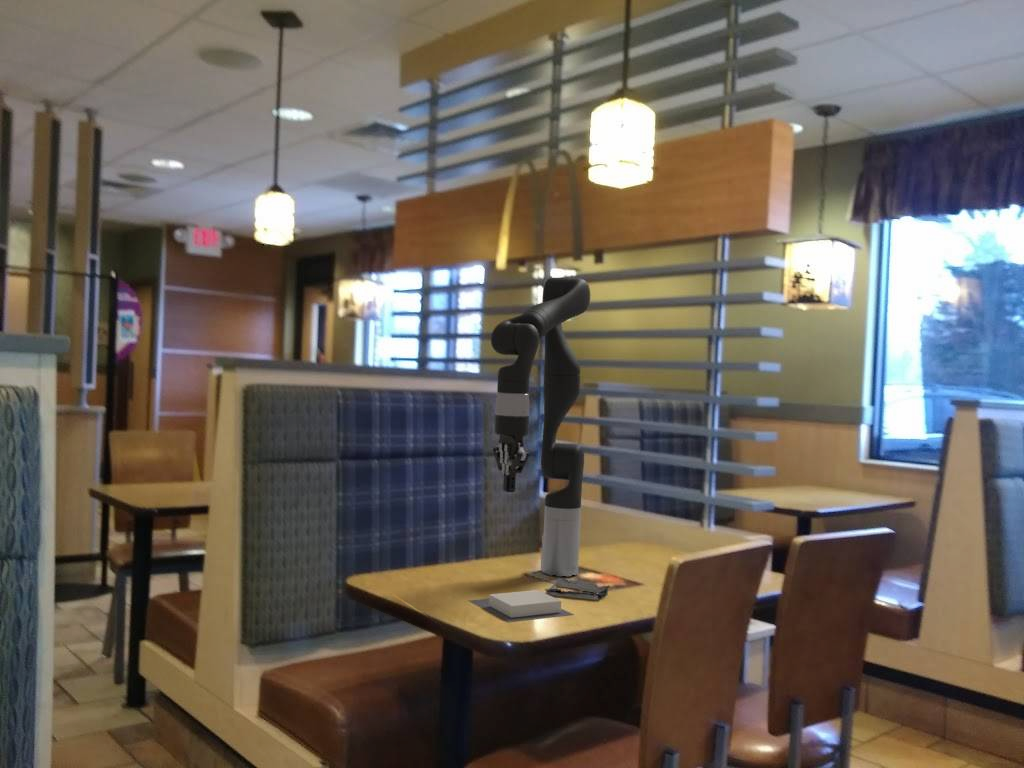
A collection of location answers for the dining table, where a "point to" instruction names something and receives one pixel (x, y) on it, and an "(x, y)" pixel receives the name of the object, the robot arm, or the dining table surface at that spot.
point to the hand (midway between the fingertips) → (509, 491)
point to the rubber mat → (485, 605)
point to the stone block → (524, 603)
